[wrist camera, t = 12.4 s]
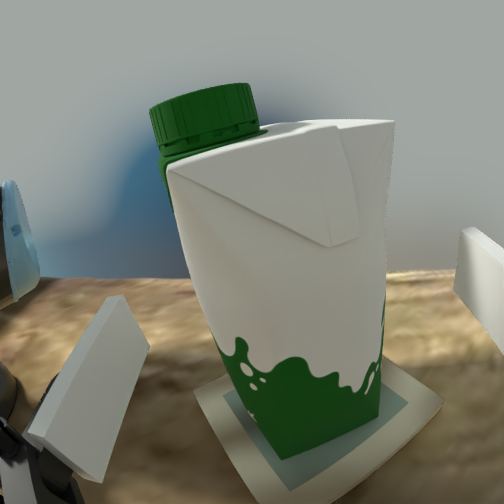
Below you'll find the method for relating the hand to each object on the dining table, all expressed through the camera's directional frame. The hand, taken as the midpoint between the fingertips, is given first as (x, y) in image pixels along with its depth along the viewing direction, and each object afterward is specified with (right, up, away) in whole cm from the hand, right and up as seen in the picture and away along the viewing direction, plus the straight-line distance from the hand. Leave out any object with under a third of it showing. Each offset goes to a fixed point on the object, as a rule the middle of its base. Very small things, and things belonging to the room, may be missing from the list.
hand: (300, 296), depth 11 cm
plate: (+3, -10, +9) cm, 14 cm away
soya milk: (+3, -9, +9) cm, 13 cm away
